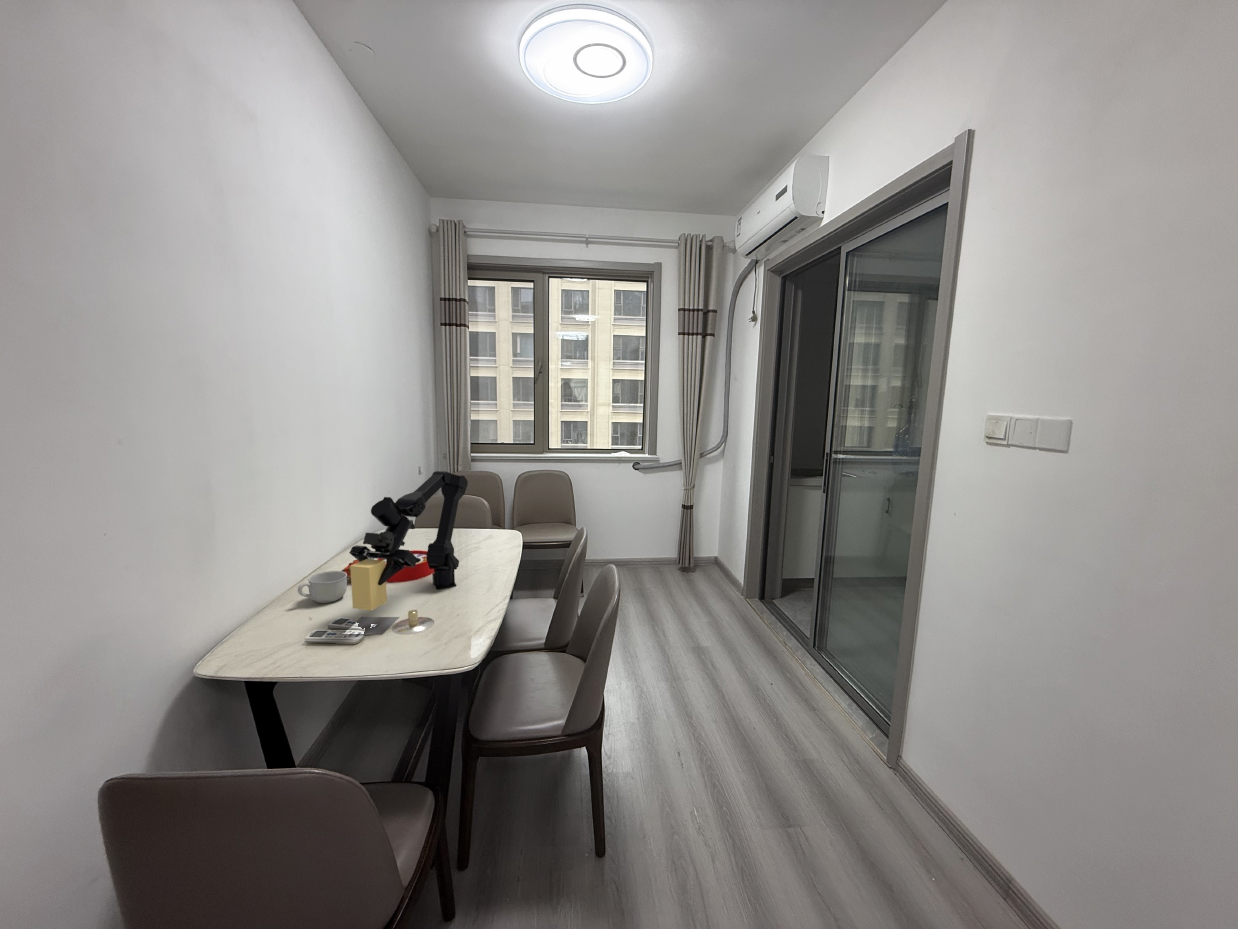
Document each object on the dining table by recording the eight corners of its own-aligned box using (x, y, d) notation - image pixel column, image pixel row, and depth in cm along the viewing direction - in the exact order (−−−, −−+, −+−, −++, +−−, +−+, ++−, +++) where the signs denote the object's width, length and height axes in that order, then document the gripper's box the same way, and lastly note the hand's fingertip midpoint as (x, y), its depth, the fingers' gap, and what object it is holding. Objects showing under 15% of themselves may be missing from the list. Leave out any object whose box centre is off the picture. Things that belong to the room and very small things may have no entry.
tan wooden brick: (369, 599, 137) (366, 559, 136) (387, 601, 136) (384, 560, 134) (352, 608, 131) (350, 565, 130) (371, 610, 130) (369, 567, 128)
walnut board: (333, 643, 126) (332, 639, 126) (363, 616, 142) (363, 613, 142) (425, 643, 127) (424, 639, 127) (445, 616, 143) (445, 613, 143)
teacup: (342, 590, 162) (341, 567, 161) (352, 599, 155) (351, 575, 154) (294, 602, 153) (292, 577, 152) (302, 612, 145) (300, 587, 144)
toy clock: (442, 559, 179) (385, 571, 165) (443, 574, 179) (386, 587, 166) (423, 547, 193) (369, 557, 180) (423, 561, 194) (369, 572, 181)
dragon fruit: (380, 583, 173) (343, 592, 169) (379, 564, 179) (344, 572, 175) (374, 570, 167) (336, 579, 163) (374, 551, 173) (336, 559, 169)
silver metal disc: (430, 614, 142) (429, 600, 142) (438, 629, 133) (437, 614, 132) (389, 623, 136) (388, 609, 136) (394, 639, 127) (394, 623, 126)
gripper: (352, 518, 138) (322, 567, 129) (408, 522, 134) (382, 573, 124) (373, 537, 147) (347, 585, 137) (427, 542, 142) (404, 591, 133)
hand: (369, 583), depth 133 cm, fingers closed on tan wooden brick, 6 cm apart
